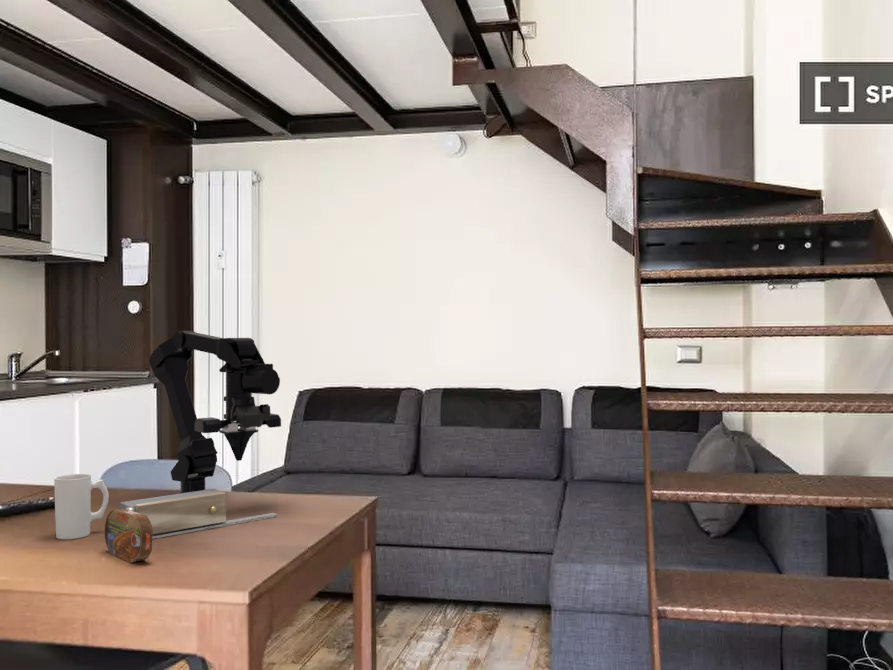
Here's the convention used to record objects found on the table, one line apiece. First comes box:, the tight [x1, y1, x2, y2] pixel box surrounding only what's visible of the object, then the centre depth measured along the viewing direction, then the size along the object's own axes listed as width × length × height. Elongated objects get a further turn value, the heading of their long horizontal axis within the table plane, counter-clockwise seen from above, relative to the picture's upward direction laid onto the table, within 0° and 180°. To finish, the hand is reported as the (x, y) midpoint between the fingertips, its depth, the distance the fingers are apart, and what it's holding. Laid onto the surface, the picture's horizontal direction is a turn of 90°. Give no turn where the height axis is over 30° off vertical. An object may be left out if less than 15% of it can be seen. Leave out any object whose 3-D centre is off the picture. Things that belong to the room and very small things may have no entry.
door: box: [135, 491, 227, 534], centre depth 155 cm, size 3×18×6 cm, turn 130°
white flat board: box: [126, 507, 278, 540], centre depth 159 cm, size 2×32×7 cm, turn 130°
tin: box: [104, 509, 153, 564], centre depth 138 cm, size 15×3×8 cm, turn 47°
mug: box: [53, 473, 110, 541], centre depth 155 cm, size 10×7×12 cm, turn 119°
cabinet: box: [119, 488, 226, 512], centre depth 159 cm, size 6×20×6 cm, turn 130°
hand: (238, 460), depth 173 cm, fingers closed
